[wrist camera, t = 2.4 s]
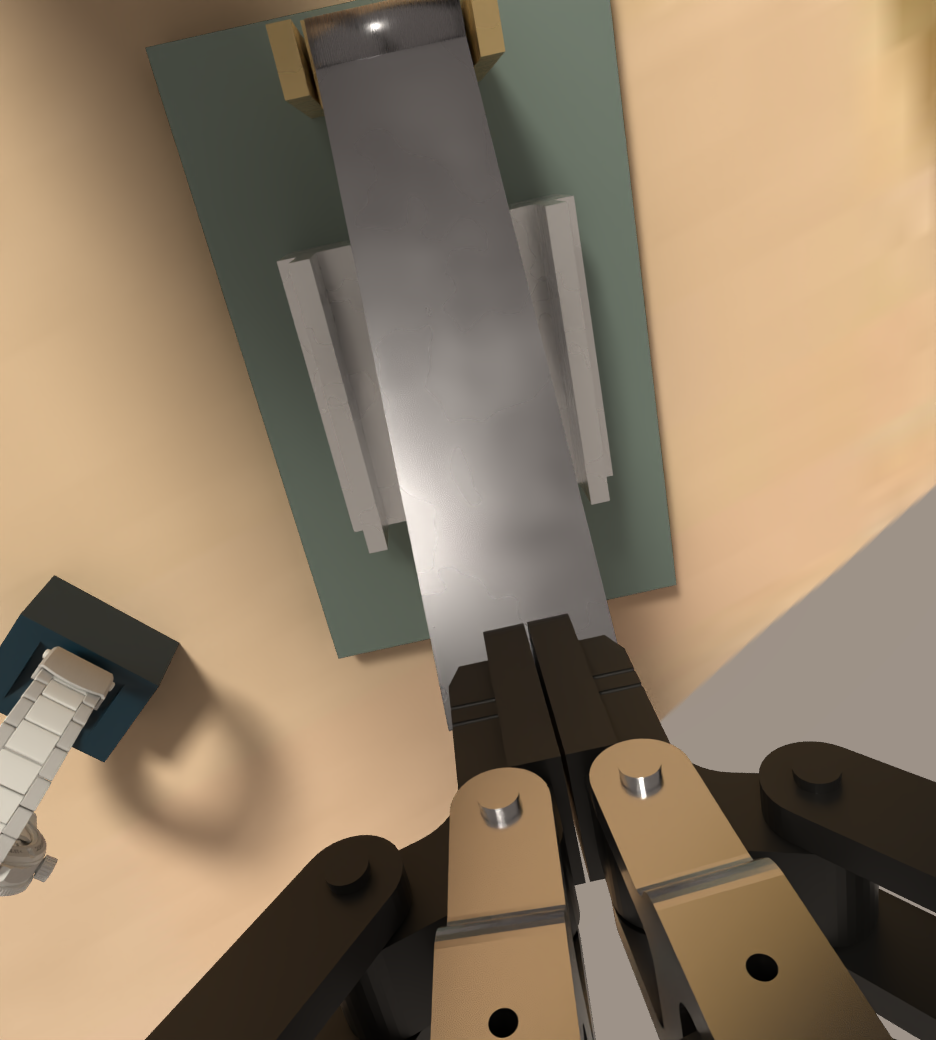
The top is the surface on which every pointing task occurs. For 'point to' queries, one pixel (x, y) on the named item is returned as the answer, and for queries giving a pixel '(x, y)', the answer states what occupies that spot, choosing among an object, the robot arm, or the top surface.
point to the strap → (453, 332)
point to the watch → (64, 706)
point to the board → (321, 220)
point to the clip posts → (301, 71)
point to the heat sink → (353, 378)
